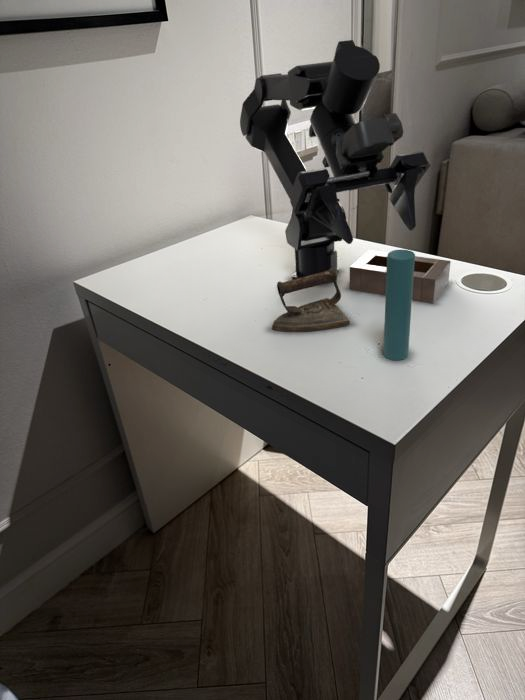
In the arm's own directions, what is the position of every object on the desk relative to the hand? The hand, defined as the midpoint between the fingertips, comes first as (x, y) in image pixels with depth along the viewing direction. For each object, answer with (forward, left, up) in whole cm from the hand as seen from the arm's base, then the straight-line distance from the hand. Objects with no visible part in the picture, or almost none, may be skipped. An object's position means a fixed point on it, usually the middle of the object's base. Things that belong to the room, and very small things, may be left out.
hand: (382, 235), depth 68 cm
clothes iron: (-10, -3, -14) cm, 18 cm away
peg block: (-2, +14, -14) cm, 20 cm away
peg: (+5, -6, -14) cm, 16 cm away
